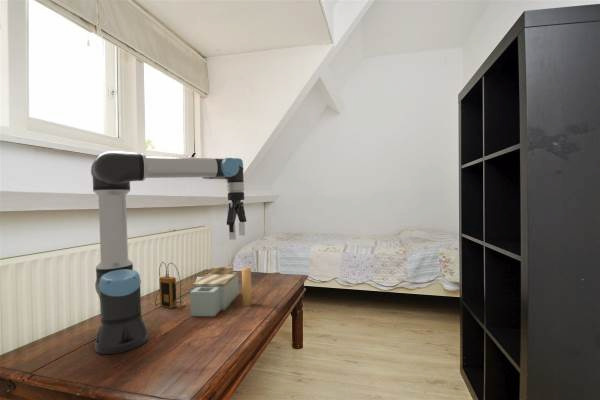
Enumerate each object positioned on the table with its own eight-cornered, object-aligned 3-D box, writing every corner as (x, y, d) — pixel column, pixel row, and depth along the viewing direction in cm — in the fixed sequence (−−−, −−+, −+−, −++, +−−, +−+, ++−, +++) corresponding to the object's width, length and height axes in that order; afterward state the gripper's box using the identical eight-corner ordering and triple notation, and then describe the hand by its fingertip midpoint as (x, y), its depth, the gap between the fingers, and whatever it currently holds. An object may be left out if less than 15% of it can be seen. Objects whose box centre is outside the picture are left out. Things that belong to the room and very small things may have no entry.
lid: (192, 286, 130) (192, 276, 130) (210, 274, 150) (210, 266, 150) (224, 286, 129) (224, 276, 129) (238, 274, 149) (237, 265, 149)
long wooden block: (250, 306, 132) (249, 269, 132) (241, 306, 133) (240, 269, 133) (252, 303, 136) (251, 267, 136) (244, 303, 137) (243, 267, 137)
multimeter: (194, 302, 140) (193, 259, 140) (177, 309, 131) (176, 263, 131) (171, 298, 146) (170, 257, 146) (153, 305, 137) (152, 261, 137)
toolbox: (185, 316, 123) (185, 291, 123) (210, 294, 150) (210, 274, 150) (219, 316, 122) (218, 291, 122) (238, 294, 149) (238, 274, 149)
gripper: (236, 192, 154) (238, 234, 155) (217, 191, 130) (219, 241, 130) (251, 191, 153) (252, 233, 154) (234, 191, 129) (236, 241, 129)
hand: (237, 237), depth 142 cm, fingers open, 13 cm apart
